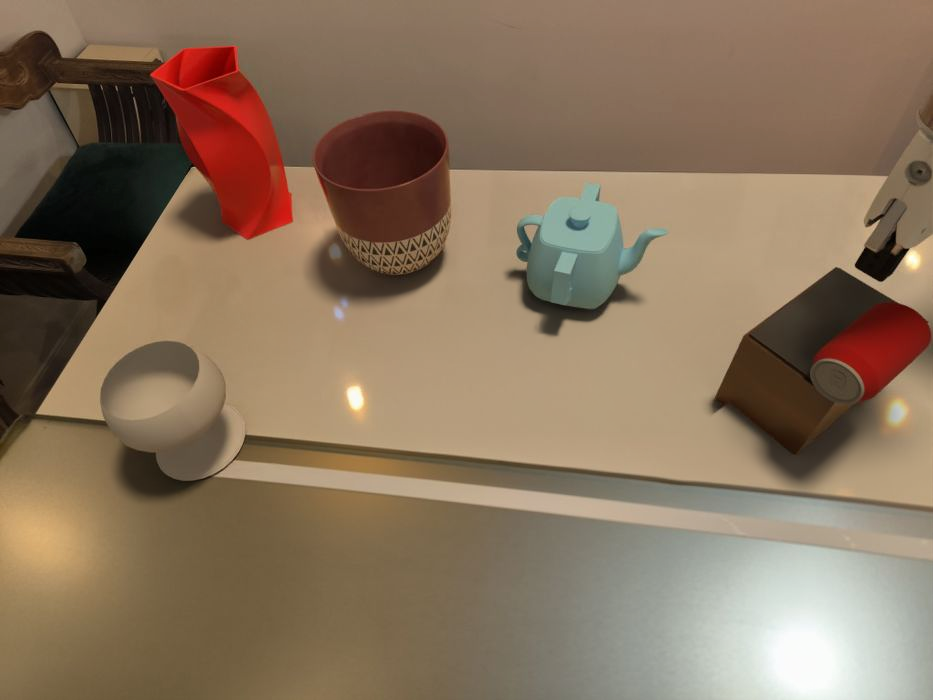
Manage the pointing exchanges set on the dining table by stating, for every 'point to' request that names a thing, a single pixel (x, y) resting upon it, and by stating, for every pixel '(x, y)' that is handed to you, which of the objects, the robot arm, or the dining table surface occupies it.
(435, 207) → the planter
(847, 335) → the beverage can
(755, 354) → the riser
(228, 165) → the vase
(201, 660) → the dining table surface
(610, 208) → the teapot
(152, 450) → the chalice
